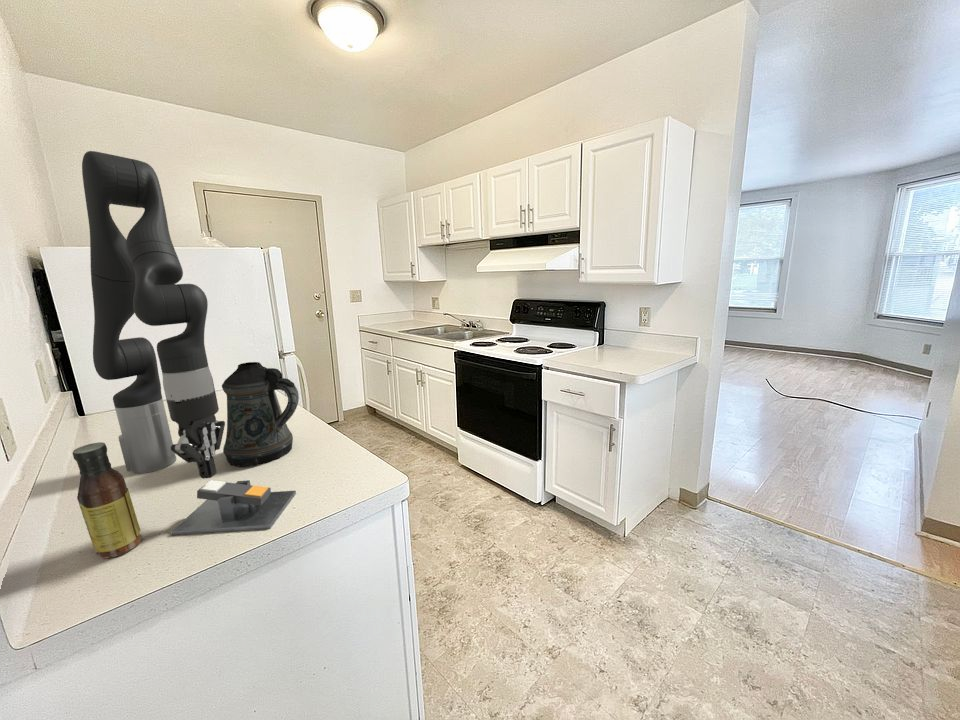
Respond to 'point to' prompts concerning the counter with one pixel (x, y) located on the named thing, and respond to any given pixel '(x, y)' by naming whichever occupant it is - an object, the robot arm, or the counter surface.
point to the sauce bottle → (105, 503)
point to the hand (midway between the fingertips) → (208, 476)
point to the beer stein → (257, 415)
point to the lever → (234, 492)
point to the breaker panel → (234, 514)
